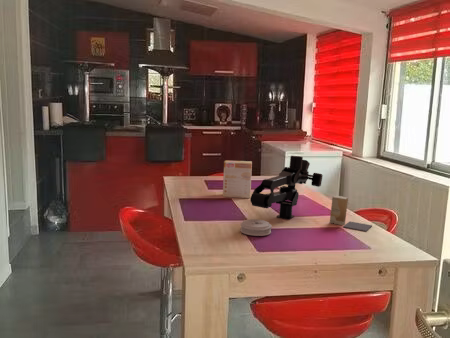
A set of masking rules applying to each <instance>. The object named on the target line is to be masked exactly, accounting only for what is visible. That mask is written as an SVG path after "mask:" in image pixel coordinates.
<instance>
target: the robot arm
mask: <svg viewBox="0 0 450 338" xmlns="http://www.w3.org/2000/svg"><path fill="white" fill-rule="evenodd" d="M289 157H290V158H289V167H288V166H285V167H283V169H282V170H281V172H279V173H278V175H276V176H274V177H270V178H264V179H262V181H261V182H260V184H259V185H258V186H257V187H255V189H253V192H252V194H251V195H250V198H249V199H250V200H249V201H250V203H251V206H253V207H256V208H263V209H269V208H270V207H272V206H273V205H272V204H277V205H279V214H278V215H276V218H280V219H285V220H291V219H292V218H294V217H295V215H294V214H293V207H294V206H295V207H296V206H297V204H298V200H299V196H300V195H299V194H300V193H299V192H298V190H297V188H296V184H298V185H303V184H307V181H308V180H311V182H310V183H311V186H314V187H317V188H319V187H321V186H322V183H323V176H324V175H323V174H322V173H320V172H319V173H318V172H313V173H312V174H309V172H310V171H309V168H310V166H311V165H310V164H311V163H310V162H309V161H308V160H307V159H303V158H304V157H303V156H302V155H301V156H299V155H290V156H289ZM285 185H286V186H285ZM276 188H279V190H278V191H274V190H275V189H276ZM266 189H267V190H270V193H269V192H268V193H262V192H263V191H264V190H266Z"/></svg>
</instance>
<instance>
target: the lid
mask: <svg viewBox="0 0 450 338" xmlns="http://www.w3.org/2000/svg"><path fill="white" fill-rule="evenodd" d="M271 230H272V224H271V223H270V222H269V221H266V220H263V219H255V218H254V219H252V218H251V219H245V220H243V221H242V222H241V223H240V232H241V233H243V234H244V235H248V236H255V237H256V236H257V237H259V236H260V237H262V236H269V235H270V234H271V233H272V231H271Z"/></svg>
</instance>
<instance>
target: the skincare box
mask: <svg viewBox="0 0 450 338" xmlns="http://www.w3.org/2000/svg"><path fill="white" fill-rule="evenodd" d="M348 201H349V197H346V196H342V195H333V196H332V199H331V207H330V217H329V223H330V224H333V223H334V224H335V225H340V226H344V225H346V219H347V211H348V203H349V202H348Z"/></svg>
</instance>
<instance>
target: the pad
mask: <svg viewBox="0 0 450 338" xmlns="http://www.w3.org/2000/svg"><path fill="white" fill-rule="evenodd" d="M372 227H373V225H372V224H366V223H361V222H354V221H348V222H347V223H345V224H344V225H342V228H345V229H349V230H354V231H360V232H365V233H366V232H368V231H369V230H370V229H371V228H372Z"/></svg>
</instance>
